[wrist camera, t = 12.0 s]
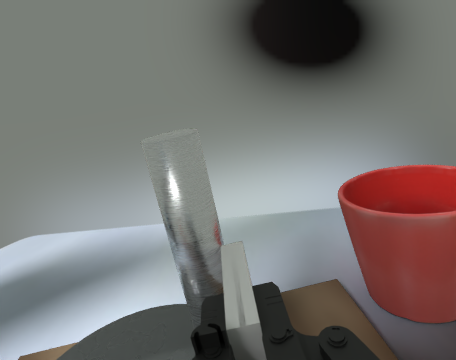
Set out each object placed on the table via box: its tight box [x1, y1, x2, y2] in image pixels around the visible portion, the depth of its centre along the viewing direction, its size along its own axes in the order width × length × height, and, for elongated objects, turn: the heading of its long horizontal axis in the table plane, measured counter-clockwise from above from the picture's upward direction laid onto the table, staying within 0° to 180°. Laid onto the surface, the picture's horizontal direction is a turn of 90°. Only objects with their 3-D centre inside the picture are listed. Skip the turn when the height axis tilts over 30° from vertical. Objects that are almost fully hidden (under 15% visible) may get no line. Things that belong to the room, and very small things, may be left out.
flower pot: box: [338, 165, 456, 323], centre depth 26 cm, size 11×11×10 cm
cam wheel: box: [56, 128, 224, 360], centre depth 16 cm, size 18×16×16 cm
